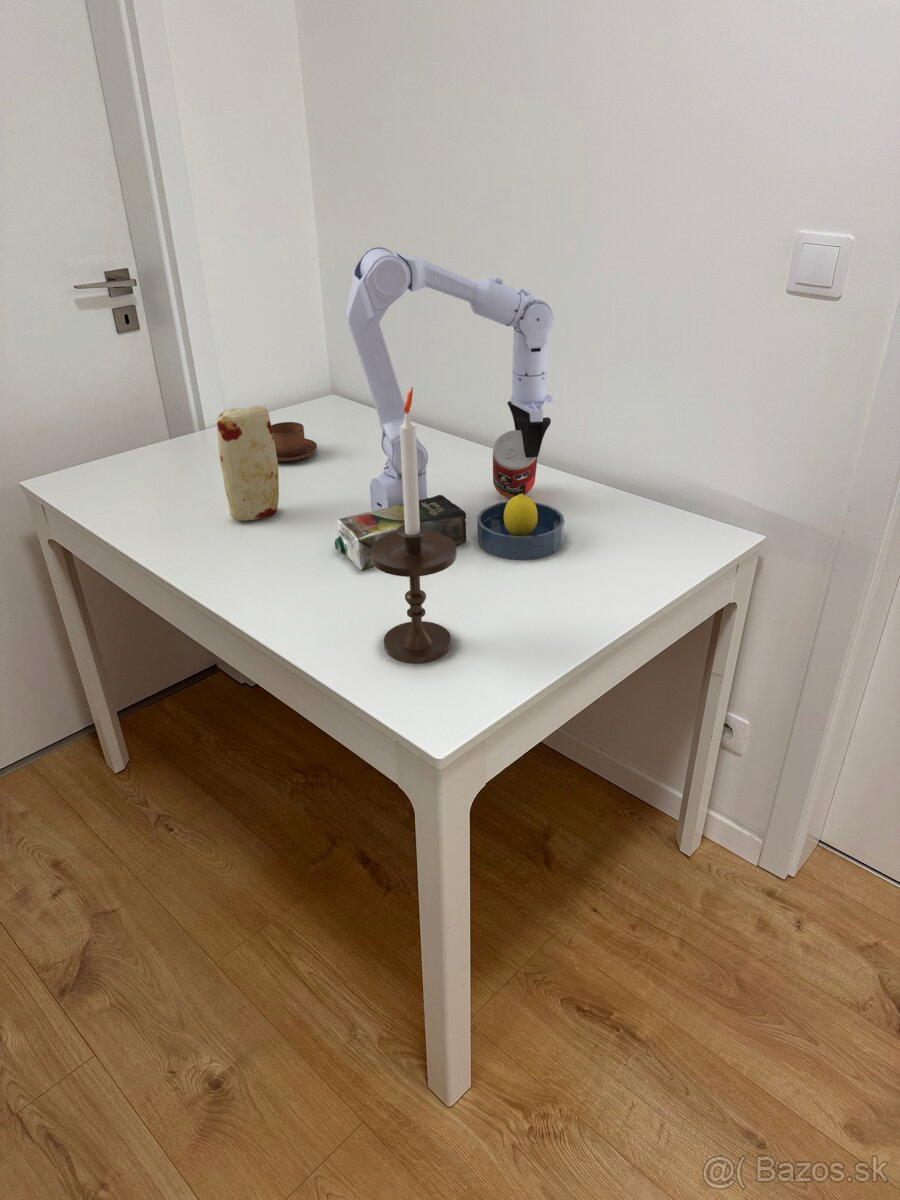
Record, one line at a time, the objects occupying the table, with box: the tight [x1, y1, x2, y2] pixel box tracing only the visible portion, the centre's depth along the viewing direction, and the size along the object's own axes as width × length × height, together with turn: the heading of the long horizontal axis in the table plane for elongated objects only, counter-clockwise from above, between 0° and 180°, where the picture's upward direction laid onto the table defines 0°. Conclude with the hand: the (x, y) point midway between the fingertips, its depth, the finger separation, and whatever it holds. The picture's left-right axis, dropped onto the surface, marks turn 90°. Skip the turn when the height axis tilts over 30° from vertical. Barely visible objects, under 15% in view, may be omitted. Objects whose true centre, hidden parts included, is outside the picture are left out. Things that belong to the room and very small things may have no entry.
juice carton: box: [334, 494, 467, 571], centre depth 137 cm, size 20×10×6 cm, turn 118°
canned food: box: [492, 429, 538, 499], centre depth 151 cm, size 8×8×11 cm
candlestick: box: [370, 386, 457, 665], centre depth 105 cm, size 11×11×35 cm
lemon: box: [504, 494, 538, 536], centre depth 138 cm, size 6×6×8 cm
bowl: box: [476, 501, 565, 561], centre depth 139 cm, size 14×14×4 cm
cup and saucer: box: [271, 421, 318, 463], centre depth 175 cm, size 12×12×6 cm
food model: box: [216, 405, 280, 522], centre depth 146 cm, size 10×7×20 cm
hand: (527, 448), depth 148 cm, fingers open, 7 cm apart
